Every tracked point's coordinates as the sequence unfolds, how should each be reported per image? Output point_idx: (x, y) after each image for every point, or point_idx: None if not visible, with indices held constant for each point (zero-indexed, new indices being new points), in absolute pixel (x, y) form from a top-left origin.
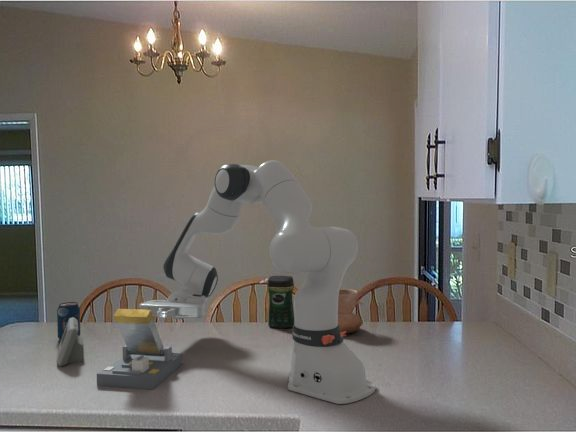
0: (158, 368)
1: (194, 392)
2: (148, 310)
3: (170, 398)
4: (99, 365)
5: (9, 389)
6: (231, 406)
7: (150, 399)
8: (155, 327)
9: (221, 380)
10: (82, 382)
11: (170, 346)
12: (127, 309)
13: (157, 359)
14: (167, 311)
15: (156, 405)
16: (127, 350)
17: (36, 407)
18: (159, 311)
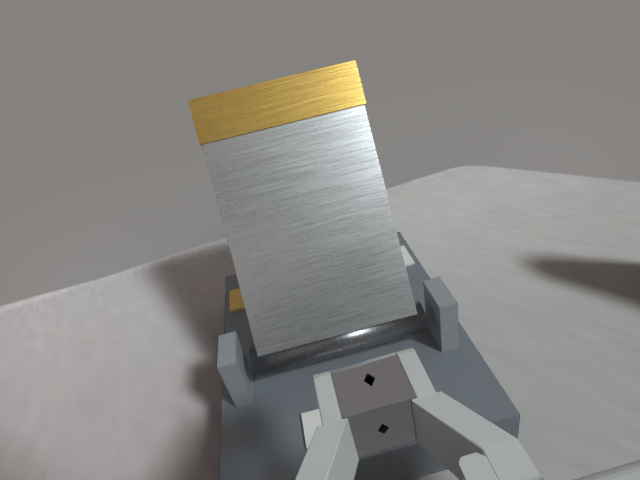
0: (241, 320)
1: (113, 336)
2: (199, 100)
3: (168, 294)
4: (593, 346)
5: (574, 180)
6: (14, 323)
7: (214, 274)
8: (219, 207)
9: (27, 435)
10: (462, 254)
11: (222, 363)
12: (304, 73)
13: (298, 377)
14: (323, 404)
15: (188, 266)
16: (429, 304)
17: (415, 183)
18: (408, 369)
